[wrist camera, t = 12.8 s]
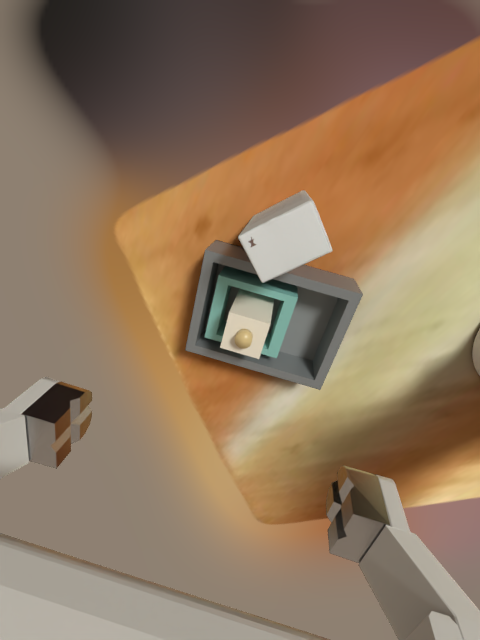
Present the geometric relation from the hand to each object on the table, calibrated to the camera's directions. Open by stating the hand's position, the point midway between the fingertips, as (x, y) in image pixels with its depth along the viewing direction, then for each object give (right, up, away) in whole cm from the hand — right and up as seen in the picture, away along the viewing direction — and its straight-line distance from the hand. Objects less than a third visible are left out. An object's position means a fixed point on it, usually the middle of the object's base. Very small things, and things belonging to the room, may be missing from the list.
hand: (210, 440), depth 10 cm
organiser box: (+4, +5, +29) cm, 30 cm away
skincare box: (+6, +14, +25) cm, 29 cm away
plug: (+3, +6, +28) cm, 29 cm away
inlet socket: (+3, +6, +29) cm, 30 cm away
